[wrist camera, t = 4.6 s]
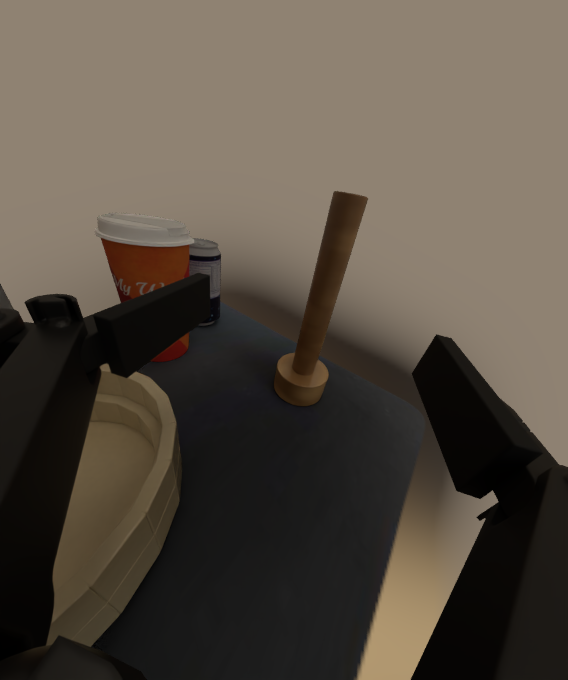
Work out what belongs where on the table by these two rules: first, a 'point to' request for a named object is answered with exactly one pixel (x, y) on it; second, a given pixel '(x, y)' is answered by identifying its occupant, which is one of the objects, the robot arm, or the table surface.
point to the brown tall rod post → (320, 304)
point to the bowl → (116, 506)
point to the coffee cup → (146, 259)
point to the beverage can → (207, 272)
